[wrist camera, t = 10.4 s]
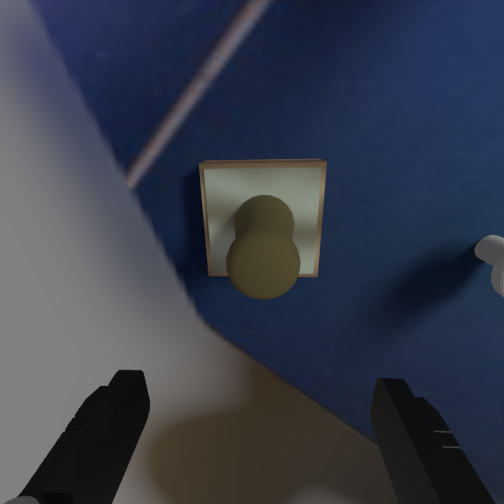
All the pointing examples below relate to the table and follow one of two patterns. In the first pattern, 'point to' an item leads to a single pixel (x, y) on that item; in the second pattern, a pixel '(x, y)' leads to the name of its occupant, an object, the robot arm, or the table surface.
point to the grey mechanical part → (493, 259)
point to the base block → (262, 183)
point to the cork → (263, 249)
